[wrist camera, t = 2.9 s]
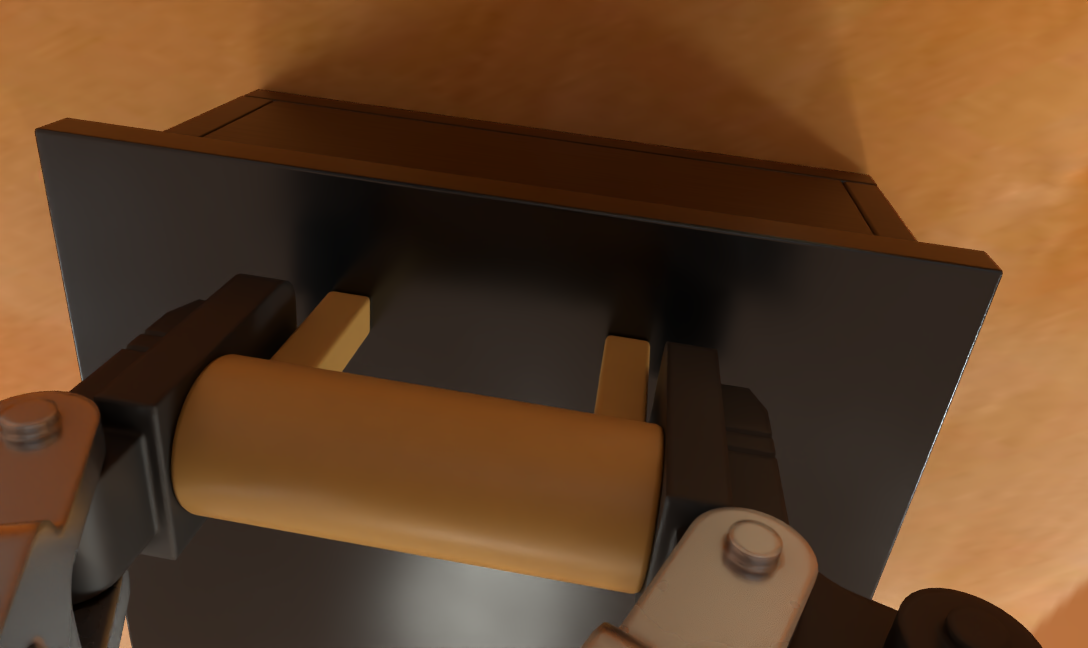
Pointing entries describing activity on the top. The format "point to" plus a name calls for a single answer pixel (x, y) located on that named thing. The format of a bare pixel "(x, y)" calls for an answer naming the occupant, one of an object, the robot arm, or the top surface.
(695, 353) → the robot arm
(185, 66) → the top surface
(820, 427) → the bin lid
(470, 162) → the bread bin
